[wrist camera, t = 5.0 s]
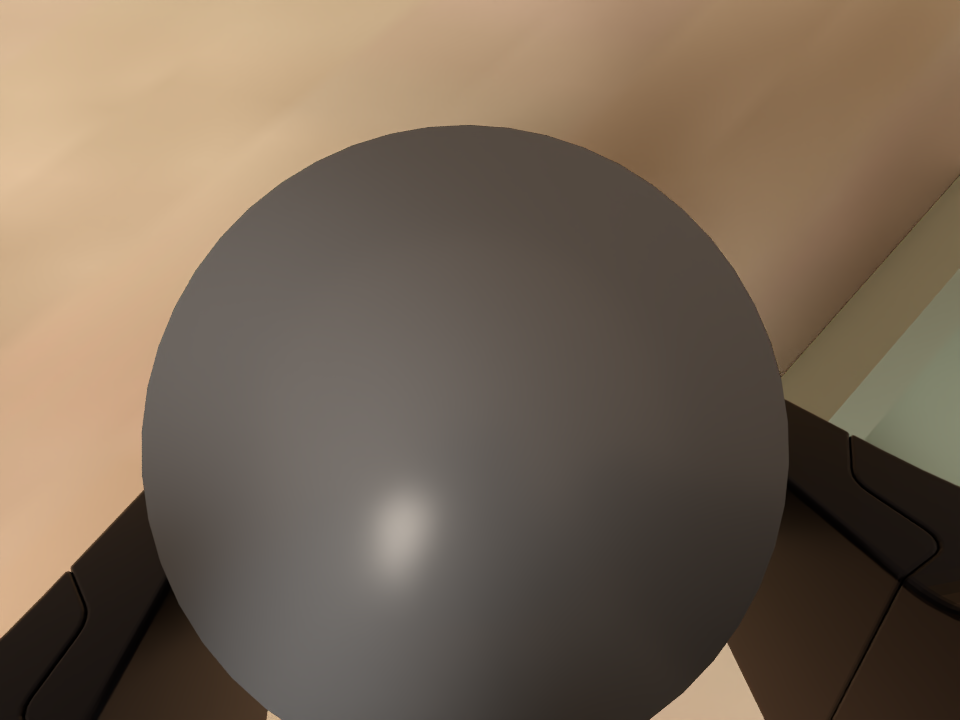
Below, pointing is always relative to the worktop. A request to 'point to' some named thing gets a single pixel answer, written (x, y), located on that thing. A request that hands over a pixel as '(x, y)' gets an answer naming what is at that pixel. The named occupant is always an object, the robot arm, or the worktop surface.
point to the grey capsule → (465, 438)
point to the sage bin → (896, 351)
